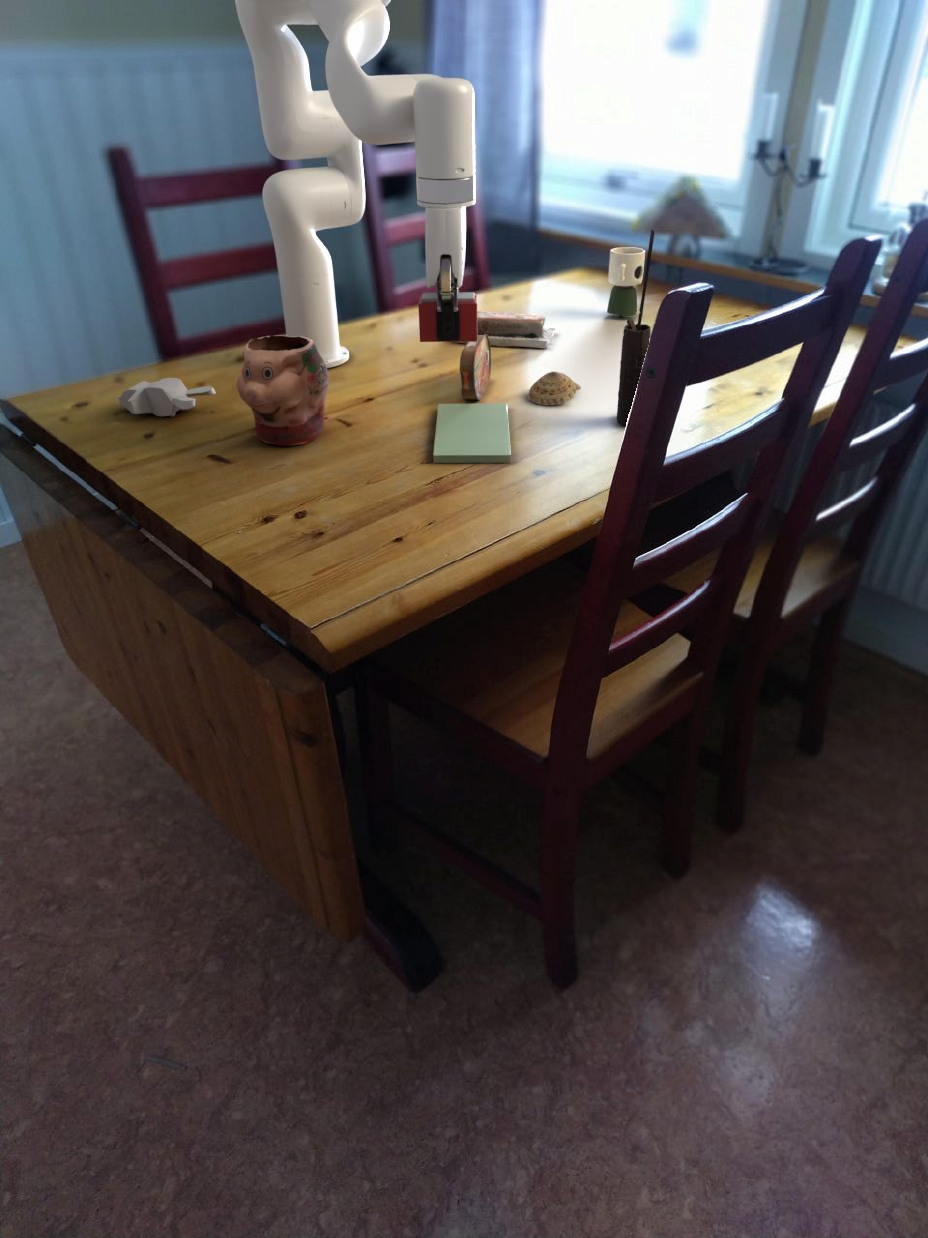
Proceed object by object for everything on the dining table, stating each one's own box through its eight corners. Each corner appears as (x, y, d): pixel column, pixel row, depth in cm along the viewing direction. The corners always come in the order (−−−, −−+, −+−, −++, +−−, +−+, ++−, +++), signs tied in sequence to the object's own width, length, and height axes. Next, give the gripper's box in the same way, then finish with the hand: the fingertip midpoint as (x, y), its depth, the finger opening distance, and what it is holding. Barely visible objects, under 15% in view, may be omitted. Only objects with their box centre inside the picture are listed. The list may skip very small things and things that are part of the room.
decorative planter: (280, 405, 140) (268, 318, 132) (351, 409, 138) (343, 322, 130) (229, 454, 124) (212, 359, 116) (309, 460, 122) (297, 364, 114)
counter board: (433, 463, 120) (433, 455, 120) (438, 410, 137) (438, 403, 136) (510, 462, 120) (510, 454, 120) (506, 410, 137) (506, 403, 136)
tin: (476, 407, 138) (476, 355, 133) (457, 406, 138) (456, 354, 134) (492, 376, 150) (493, 328, 145) (475, 375, 150) (475, 327, 146)
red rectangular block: (477, 341, 118) (477, 299, 115) (419, 341, 118) (418, 299, 115) (477, 332, 122) (477, 291, 119) (421, 332, 122) (420, 291, 119)
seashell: (592, 381, 141) (566, 374, 135) (582, 415, 142) (556, 409, 136) (552, 370, 145) (526, 363, 139) (543, 403, 147) (516, 397, 141)
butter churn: (595, 408, 137) (610, 219, 121) (654, 408, 137) (677, 219, 121) (601, 430, 129) (617, 232, 113) (663, 430, 129) (689, 232, 113)
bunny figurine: (139, 373, 141) (215, 371, 136) (149, 403, 144) (224, 402, 139) (102, 392, 134) (181, 391, 129) (113, 423, 136) (191, 424, 131)
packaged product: (455, 318, 163) (467, 305, 171) (455, 344, 165) (467, 329, 173) (548, 323, 159) (556, 309, 167) (547, 349, 162) (555, 334, 170)
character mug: (633, 323, 175) (640, 257, 168) (599, 321, 177) (605, 254, 170) (642, 310, 184) (649, 245, 176) (610, 307, 186) (615, 243, 178)
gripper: (420, 181, 116) (425, 318, 127) (412, 202, 103) (418, 353, 113) (475, 181, 116) (475, 317, 127) (474, 202, 102) (475, 353, 113)
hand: (448, 333), depth 120 cm, fingers closed on red rectangular block, 4 cm apart
